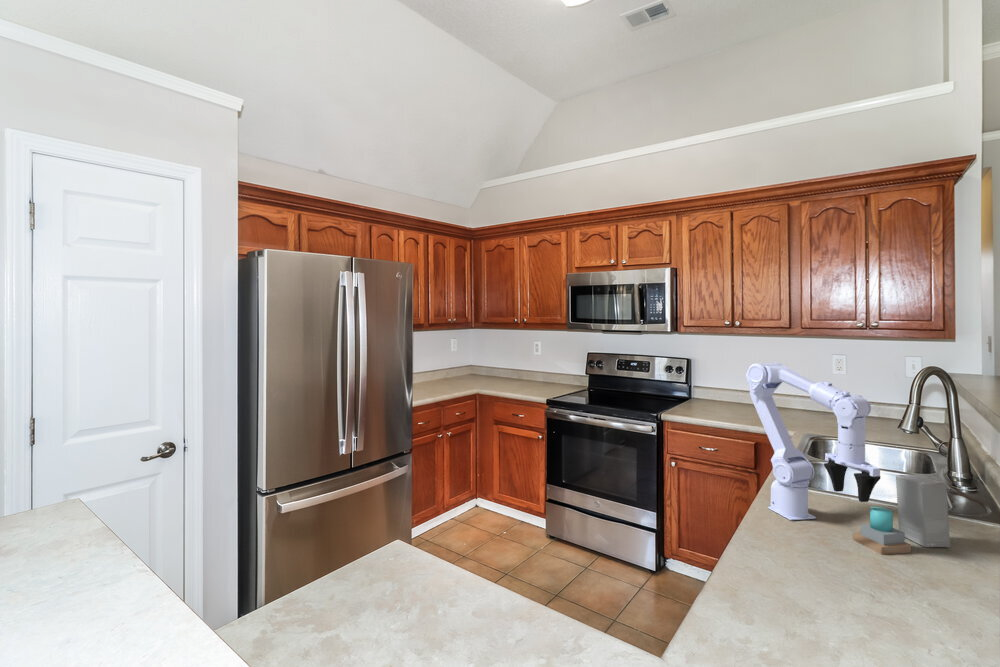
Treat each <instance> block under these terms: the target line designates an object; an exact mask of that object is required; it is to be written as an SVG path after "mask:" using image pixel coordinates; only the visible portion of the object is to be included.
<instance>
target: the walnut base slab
mask: <svg viewBox="0 0 1000 667" xmlns="http://www.w3.org/2000/svg"><path fill="white" fill-rule="evenodd" d="M852 541H854V542H856V543H858V544H860V545H862V546H864V547H866V548H868V549H870V550H872V551H873V552H875V553H878V554H880V555H889V554H892V555H893V554H894V555H895V554H905V553H911V552H912V545H911V543H908V542H906V541H905V543H900V544H891V545H882V544H880V543H878V542H875V541H873V540H871V539H869V538H867V537H865V536H863V535H861V531H860V532H859V531H858V532H857V531H856V532H852Z"/></svg>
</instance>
